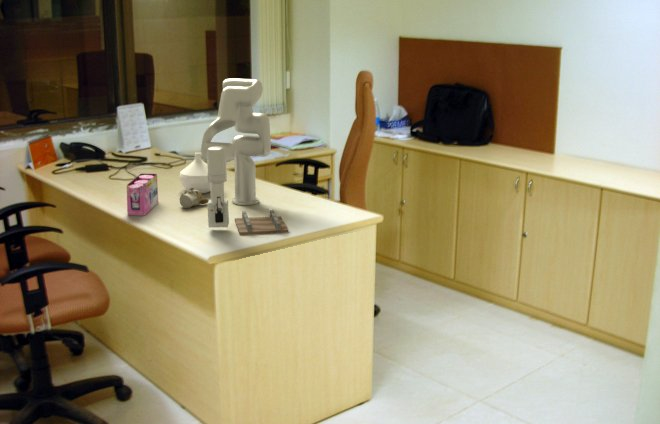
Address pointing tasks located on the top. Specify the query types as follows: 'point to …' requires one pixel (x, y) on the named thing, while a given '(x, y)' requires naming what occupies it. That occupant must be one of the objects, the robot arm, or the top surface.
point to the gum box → (142, 194)
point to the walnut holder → (260, 224)
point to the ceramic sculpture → (192, 198)
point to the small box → (212, 215)
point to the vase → (196, 175)
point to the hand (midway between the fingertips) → (218, 219)
